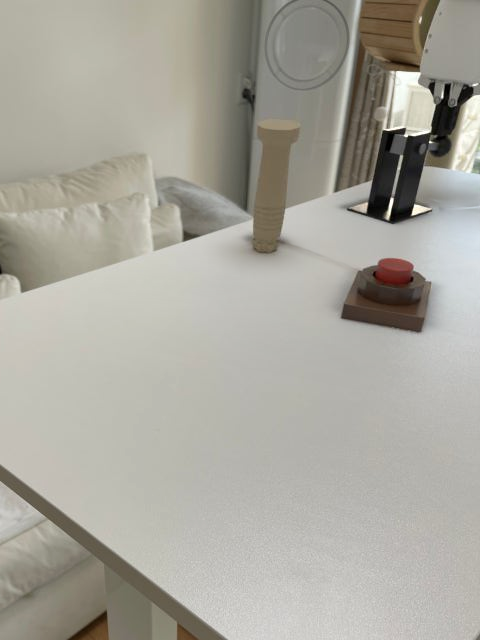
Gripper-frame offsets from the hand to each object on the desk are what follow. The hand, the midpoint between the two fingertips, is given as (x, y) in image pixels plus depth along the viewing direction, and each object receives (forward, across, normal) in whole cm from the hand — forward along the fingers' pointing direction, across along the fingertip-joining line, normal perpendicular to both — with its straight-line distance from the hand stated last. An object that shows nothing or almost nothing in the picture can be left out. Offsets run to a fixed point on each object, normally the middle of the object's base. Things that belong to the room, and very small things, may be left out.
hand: (440, 134), depth 96 cm
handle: (+11, +1, +35) cm, 36 cm away
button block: (+10, -19, +37) cm, 43 cm away
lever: (+3, 0, +5) cm, 5 cm away
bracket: (+10, 0, +10) cm, 14 cm away
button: (+7, -19, +37) cm, 42 cm away
